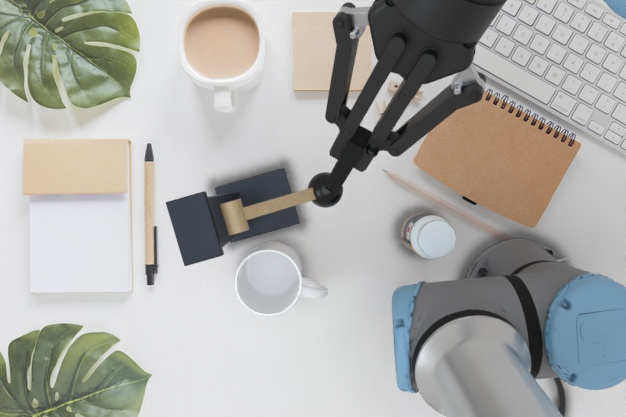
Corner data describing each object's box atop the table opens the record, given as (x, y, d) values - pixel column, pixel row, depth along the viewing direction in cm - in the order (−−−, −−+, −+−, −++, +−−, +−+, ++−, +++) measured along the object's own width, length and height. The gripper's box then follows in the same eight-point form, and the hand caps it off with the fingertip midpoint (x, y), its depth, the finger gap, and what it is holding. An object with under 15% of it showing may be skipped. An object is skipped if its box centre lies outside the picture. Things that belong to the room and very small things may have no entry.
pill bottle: (397, 249, 77) (410, 258, 68) (404, 209, 77) (418, 213, 67) (436, 255, 78) (455, 266, 68) (443, 215, 77) (464, 220, 67)
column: (239, 187, 75) (204, 191, 49) (251, 229, 76) (222, 255, 49) (214, 195, 75) (165, 202, 49) (226, 236, 76) (184, 266, 49)
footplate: (284, 167, 77) (284, 167, 75) (300, 222, 77) (299, 223, 76) (215, 187, 77) (214, 187, 75) (231, 242, 77) (230, 243, 76)
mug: (334, 258, 77) (339, 270, 67) (316, 313, 78) (318, 334, 67) (254, 232, 77) (246, 240, 67) (236, 288, 77) (225, 304, 67)
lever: (327, 171, 58) (344, 166, 54) (336, 203, 58) (353, 200, 55) (213, 202, 52) (225, 199, 49) (224, 239, 52) (236, 238, 49)
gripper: (552, -14, 39) (401, 187, 56) (390, -103, 38) (289, 128, 56) (547, 35, 34) (383, 239, 51) (361, -66, 33) (260, 174, 51)
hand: (334, 181), depth 54 cm, fingers closed
